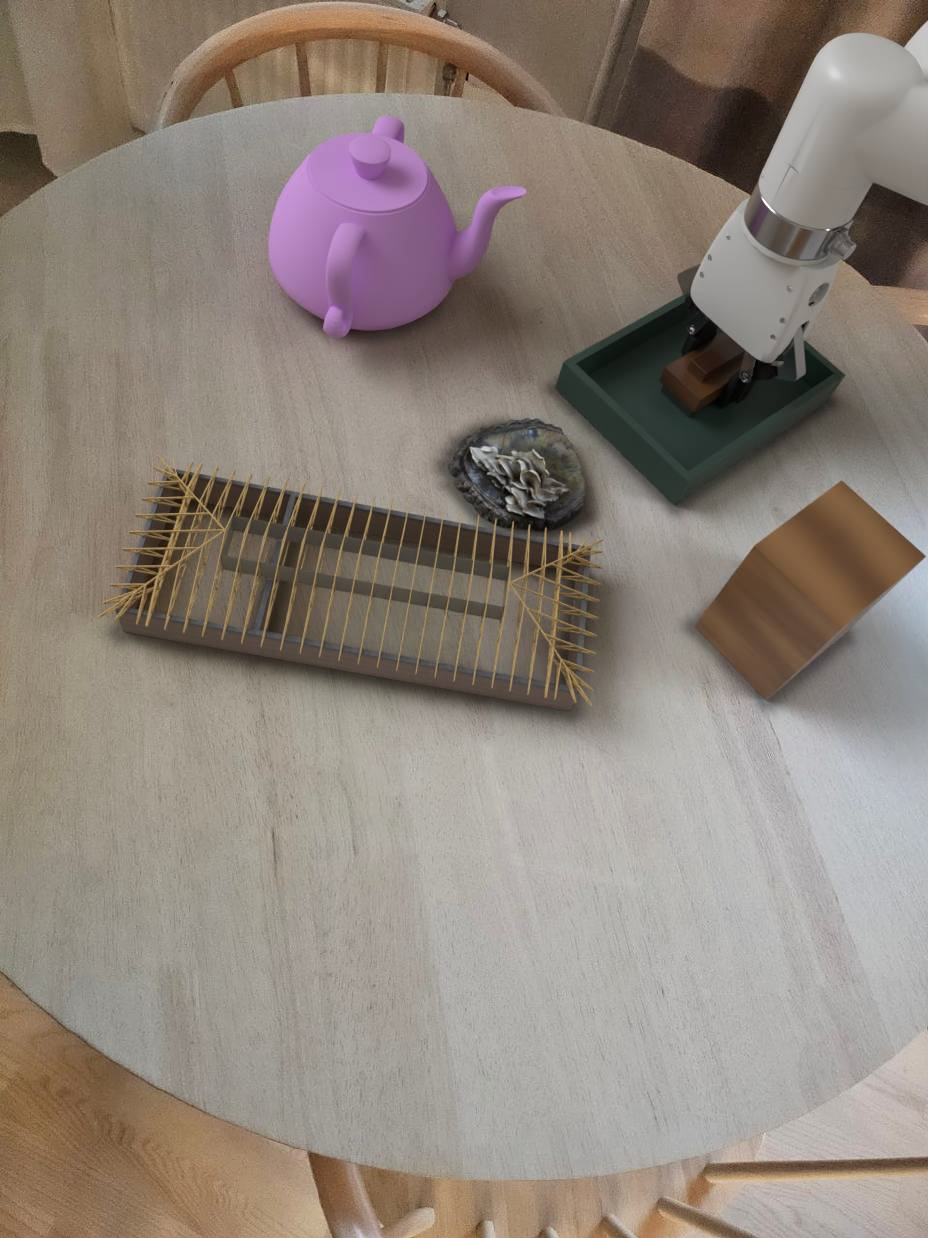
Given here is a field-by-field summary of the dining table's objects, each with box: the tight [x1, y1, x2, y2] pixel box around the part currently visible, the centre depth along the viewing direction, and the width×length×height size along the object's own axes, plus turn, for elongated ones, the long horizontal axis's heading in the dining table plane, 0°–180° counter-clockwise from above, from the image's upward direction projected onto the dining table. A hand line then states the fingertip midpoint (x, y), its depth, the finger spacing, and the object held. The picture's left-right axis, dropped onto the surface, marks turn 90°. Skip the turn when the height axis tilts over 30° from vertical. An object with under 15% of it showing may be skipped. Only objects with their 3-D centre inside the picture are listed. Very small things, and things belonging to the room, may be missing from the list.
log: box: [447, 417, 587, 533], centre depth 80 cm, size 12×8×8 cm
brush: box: [659, 332, 745, 417], centre depth 86 cm, size 10×4×4 cm, turn 130°
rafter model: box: [97, 454, 604, 712], centre depth 70 cm, size 35×14×6 cm, turn 83°
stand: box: [694, 480, 927, 701], centre depth 71 cm, size 10×8×12 cm
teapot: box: [267, 115, 527, 339], centre depth 83 cm, size 22×22×14 cm
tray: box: [554, 294, 846, 506], centre depth 86 cm, size 22×16×4 cm
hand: (710, 380), depth 88 cm, fingers closed on brush, 4 cm apart
